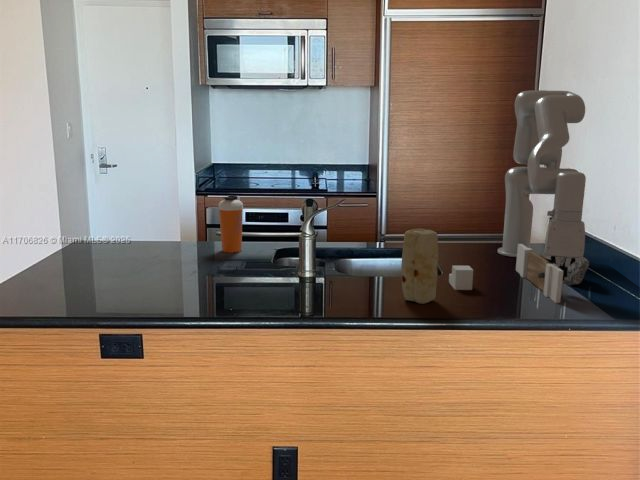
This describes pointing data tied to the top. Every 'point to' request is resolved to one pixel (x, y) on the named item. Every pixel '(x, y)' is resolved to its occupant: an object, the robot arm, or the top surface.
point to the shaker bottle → (231, 223)
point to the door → (536, 269)
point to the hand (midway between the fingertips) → (560, 279)
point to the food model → (419, 265)
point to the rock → (575, 271)
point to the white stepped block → (461, 277)
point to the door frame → (551, 274)
